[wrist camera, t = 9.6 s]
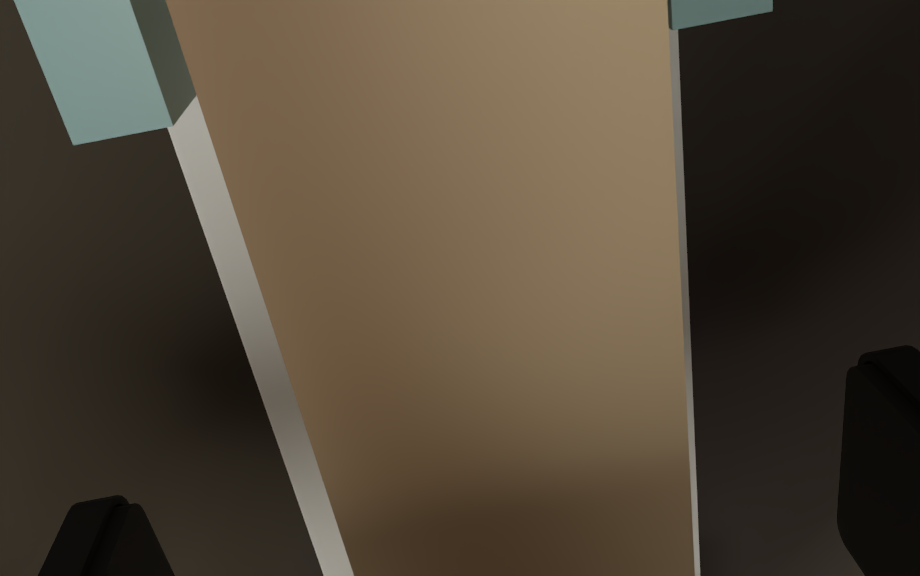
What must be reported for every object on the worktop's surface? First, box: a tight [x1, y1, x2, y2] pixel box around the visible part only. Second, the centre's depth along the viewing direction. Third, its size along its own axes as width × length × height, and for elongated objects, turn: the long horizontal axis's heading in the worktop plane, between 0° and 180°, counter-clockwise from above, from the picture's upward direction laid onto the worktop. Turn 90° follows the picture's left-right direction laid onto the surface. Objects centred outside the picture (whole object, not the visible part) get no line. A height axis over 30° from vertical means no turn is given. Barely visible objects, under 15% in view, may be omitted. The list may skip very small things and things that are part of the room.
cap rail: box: [14, 0, 773, 576], centre depth 12 cm, size 7×20×5 cm, turn 10°
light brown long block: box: [166, 0, 695, 576], centre depth 11 cm, size 4×16×5 cm, turn 10°
